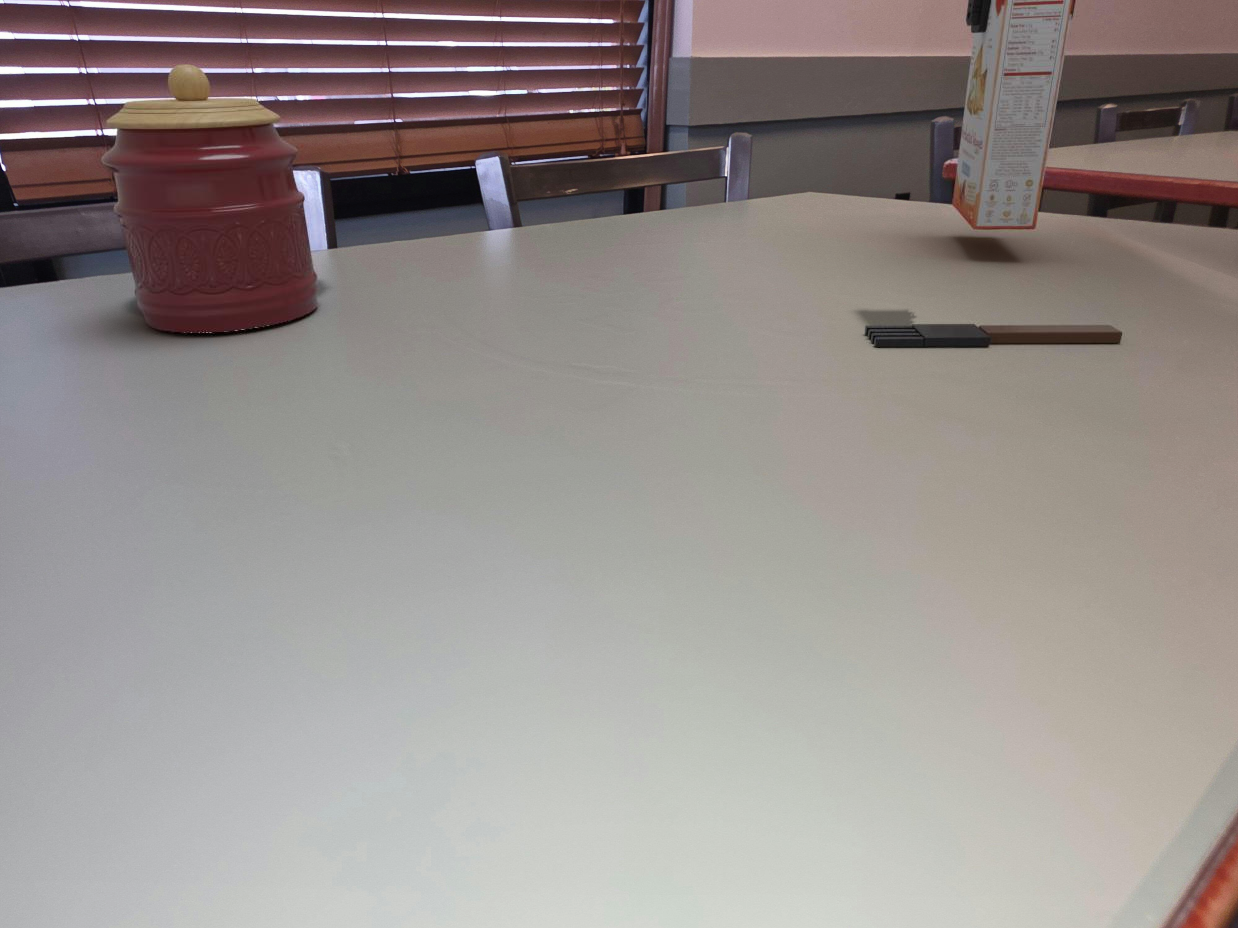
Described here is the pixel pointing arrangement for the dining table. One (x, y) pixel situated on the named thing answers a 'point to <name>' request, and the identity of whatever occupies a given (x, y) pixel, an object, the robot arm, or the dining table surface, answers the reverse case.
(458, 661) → the dining table surface
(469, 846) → the dining table surface
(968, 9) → the robot arm
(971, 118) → the cracker box
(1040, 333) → the fork
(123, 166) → the kitchen canister
